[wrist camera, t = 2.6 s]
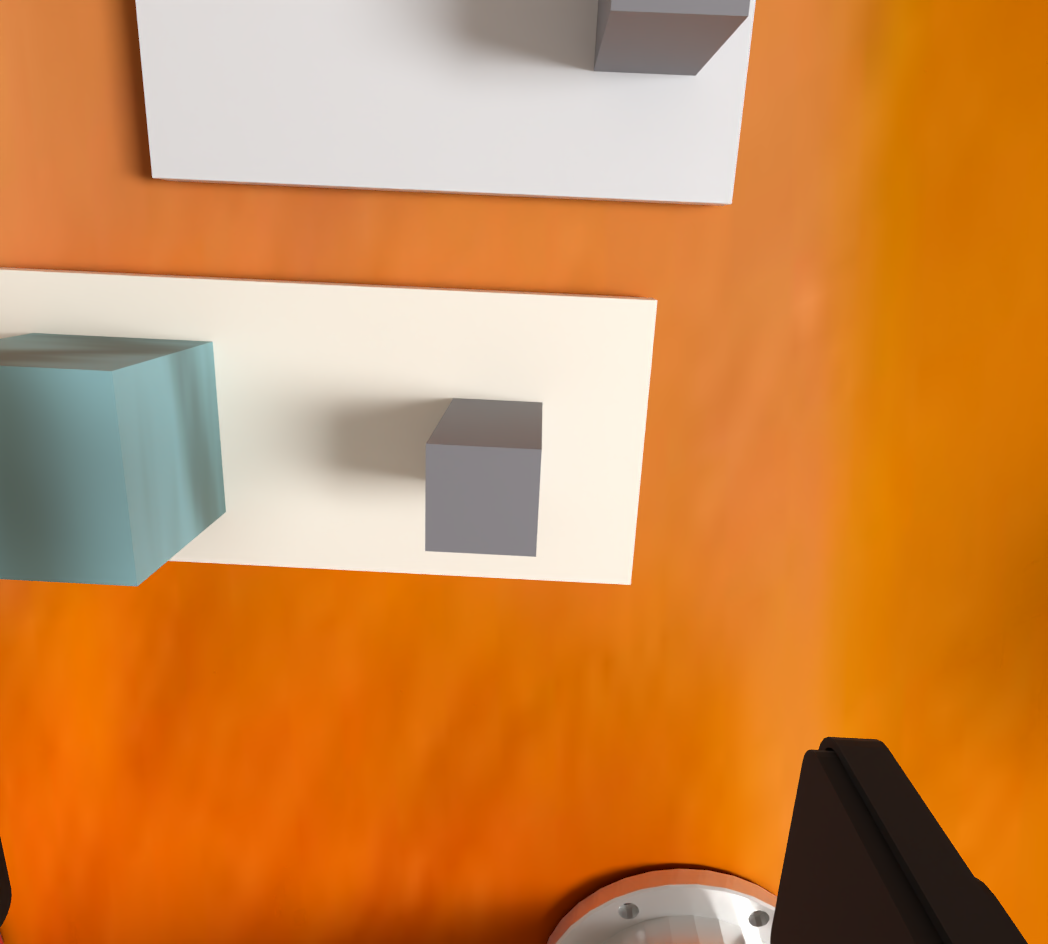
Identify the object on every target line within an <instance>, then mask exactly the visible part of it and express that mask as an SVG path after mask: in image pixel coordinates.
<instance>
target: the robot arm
mask: <svg viewBox="0 0 1048 944" xmlns="http://www.w3.org/2000/svg"><path fill="white" fill-rule="evenodd" d="M11 897H12V894H11V886H10V881H9V876H8V871H7V867H6V862H5V857H4V852H3V848H2V843H1V838H0V927H1V925H2V924H3V922H4V920H5V918H6V916H7V914H8V910H9V907H10V903H11ZM547 944H1028V943H1027V942H1026V940H1025V939H1024V937H1023V936H1022V934H1021V933H1020V932H1019V930H1018V929H1017V927H1016V926H1015V924H1014V923H1013V921H1012V920H1011V918H1010V917H1009V915H1008V914H1007V913H1006V911H1005V910H1004V908H1003V907H1002V905H1001V904H1000V902H999V901H998V899H997V898H996V897H995V895H994V894H993V893H992V892H991V891H990V890H989V888H988V887H987V886H986V885H985V884H984V883H983V882H982V881H980V880H979V879H977V878H975V877H974V876H973V874H972V873H971V871H970V870H969V868H968V867H967V865H966V864H965V862H964V861H963V859H962V858H961V856H960V855H959V853H958V852H957V850H956V849H955V847H954V846H953V844H952V843H951V841H950V840H949V839H948V837H947V836H946V834H945V833H944V831H943V830H942V828H941V827H940V825H939V824H938V822H937V821H936V819H935V818H934V816H933V815H932V813H931V812H930V810H929V809H928V807H927V806H926V804H925V803H924V801H923V800H922V798H921V797H920V795H919V794H918V792H917V791H916V789H915V788H914V786H913V785H912V783H911V782H910V780H909V779H908V778H907V776H906V775H905V773H904V772H903V770H902V769H901V767H900V766H899V764H898V763H897V761H896V760H895V758H894V757H893V755H892V754H891V752H890V751H889V749H888V748H887V747H886V746H885V745H884V743H883V742H881V741H879V740H877V739H858V738H839V737H827V738H824V739H823V741H822V742H821V744H820V747H819V750H808V751H807V752H806V753H805V755H804V759H803V763H802V768H801V773H800V779H799V784H798V789H797V795H796V800H795V805H794V811H793V816H792V821H791V827H790V832H789V837H788V843H787V848H786V853H785V859H784V864H783V869H782V875H781V880H780V885H779V891H778V896H777V897H776V896H775V895H773V894H772V893H770V892H768V891H767V890H765V889H763V888H762V887H760V886H758V885H756V884H753V883H751V882H748V881H746V880H743V879H741V878H738V877H736V876H732V875H727V874H723V873H718V872H713V871H709V870H695V869H670V870H659V871H651V872H647V873H643V874H639V875H635V876H631V877H627V878H624V879H621V880H619V881H617V882H614V883H612V884H610V885H607V886H605V887H603V888H600V889H599V890H597V891H596V892H594V893H593V894H591V895H590V896H588V897H587V898H585V899H583V900H582V901H580V902H579V903H578V904H577V905H576V906H575V907H574V908H573V909H572V910H571V911H570V912H569V913H567V914H566V915H565V916H564V917H563V918H562V919H561V921H560V922H559V924H558V925H557V927H556V928H555V930H554V931H553V933H552V934H551V935H550V937H549V939H548V942H547Z"/></svg>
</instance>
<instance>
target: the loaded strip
mask: <svg viewBox="0 0 1048 944" xmlns="http://www.w3.org/2000/svg"><path fill="white" fill-rule="evenodd" d="M656 309H657V300H656V299H654V298H646V297H625V296H604V295H582V294H561V293H540V292H518V291H497V290H475V289H454V288H433V287H411V286H390V285H369V284H347V283H326V282H305V281H283V280H262V279H240V278H219V277H198V276H176V275H155V274H134V273H112V272H91V271H70V270H48V269H27V268H6V267H2V268H0V339H1V338H7V337H13V336H19V335H25V334H30V333H44V334H65V335H85V336H106V337H127V338H148V339H169V340H190V341H210V342H213V352H214V365H215V378H216V391H217V403H218V416H219V429H220V442H221V455H222V468H223V480H224V493H225V506H226V512H225V513H224V514H223V515H222V516H221V517H219V518H218V519H217V520H216V521H215V522H213V523H212V524H211V525H210V526H209V527H207V528H206V529H205V530H204V531H203V532H202V533H200V534H199V535H198V536H197V537H196V538H194V539H193V540H192V541H191V542H190V543H188V544H187V545H186V546H185V547H184V548H182V549H181V550H180V551H179V552H178V553H176V554H175V555H174V556H173V557H172V558H171V559H169V560H168V561H185V562H204V563H223V564H242V565H261V566H281V567H300V568H319V569H338V570H358V571H377V572H396V573H415V574H434V575H454V576H473V577H492V578H511V579H531V580H550V581H569V582H588V583H608V584H627V585H631V575H632V564H633V553H634V543H635V532H636V521H637V511H638V500H639V489H640V479H641V468H642V458H643V447H644V436H645V426H646V415H647V404H648V394H649V383H650V373H651V362H652V351H653V341H654V330H655V319H656Z"/></svg>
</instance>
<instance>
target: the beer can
mask: <svg viewBox="0 0 1048 944" xmlns="http://www.w3.org/2000/svg"><path fill="white" fill-rule="evenodd" d="M0 944H4V941H3V938H2V935H1V932H0Z"/></svg>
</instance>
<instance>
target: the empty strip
mask: <svg viewBox="0 0 1048 944" xmlns="http://www.w3.org/2000/svg"><path fill="white" fill-rule="evenodd" d="M135 1H136V12H137V22H138V33H139V43H140V54H141V64H142V75H143V85H144V96H145V106H146V117H147V127H148V138H149V148H150V159H151V169H152V178H157V179H163V180H168V181H184V182H207V183H229V184H251V185H273V186H295V187H317V188H340V189H362V190H384V191H406V192H428V193H450V194H473V195H495V196H517V197H539V198H561V199H584V200H606V201H628V202H650V203H672V204H694V205H717V206H724V205H729V204H732V196H733V188H734V179H735V171H736V163H737V154H738V146H739V137H740V129H741V120H742V112H743V103H744V95H745V86H746V78H747V69H748V61H749V53H750V44H751V36H752V27H753V19H754V10H755V2H756V0H135Z"/></svg>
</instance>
